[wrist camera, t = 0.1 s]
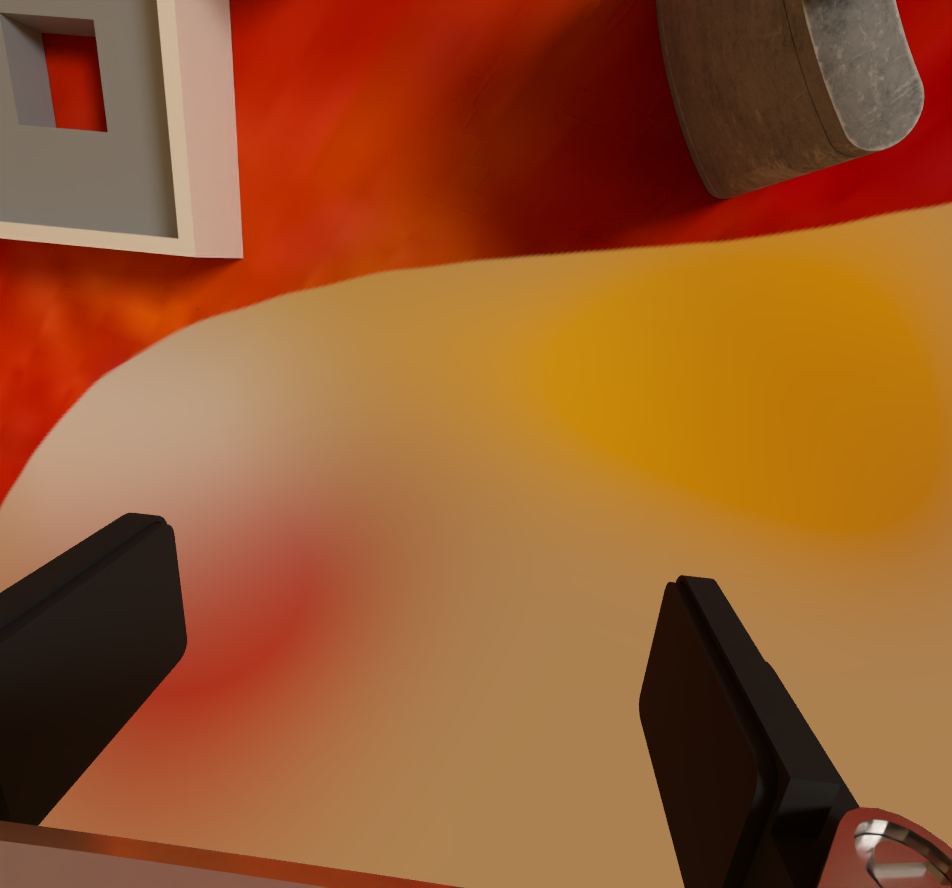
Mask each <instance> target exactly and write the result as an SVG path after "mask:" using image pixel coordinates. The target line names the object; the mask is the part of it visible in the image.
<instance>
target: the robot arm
mask: <svg viewBox="0 0 952 888" xmlns="http://www.w3.org/2000/svg"><path fill="white" fill-rule="evenodd" d="M175 545H176V544H175V536H174V531H173V529H172V527H171V526H170V525H168V524H167V523H166V521H165V519H164V518H163V517H161V516H155V515H147V514H139V513H127V514H125V515H123V516H121V517H120V518H118V519H116V520H115V521H114V522H112V523H110V524H108V525H107V526H105V527H104V528H102V529H101V530H99V531H97V532H96V533H94V534H93V535H91V536H89V537H88V538H86V539H85V540H83V541H82V542H80V543H79V544H77V545H75V546H74V547H72V548H70V549H69V550H68V551H66V552H64V553H63V554H61V555H60V556H58V557H56V558H55V559H53V560H52V561H50V562H48V563H47V564H45V565H44V566H42V567H41V568H39V569H37V570H36V571H34V572H33V573H31V574H29V575H28V576H26V577H25V578H23V579H22V580H20V581H18V582H17V583H15V584H14V585H12V586H10V587H9V588H7V589H6V590H4V591H3V592H1V593H0V888H462V887H456V886H448V885H443V884H436V883H430V882H423V881H416V880H410V879H403V878H397V877H390V876H383V875H377V874H370V873H363V872H356V871H350V870H343V869H336V868H329V867H322V866H315V865H308V864H302V863H295V862H288V861H281V860H275V859H267V858H261V857H254V856H247V855H240V854H233V853H226V852H219V851H212V850H205V849H198V848H192V847H185V846H177V845H171V844H164V843H157V842H150V841H142V840H135V839H129V838H122V837H114V836H107V835H100V834H92V833H85V832H78V831H70V830H64V829H57V828H49V827H42V826H38V825H39V824H40V823H41V822H42V820H43V819H44V818H45V817H46V816H47V815H48V813H49V812H50V811H51V810H52V809H53V808H54V806H55V805H56V804H57V803H58V802H59V801H60V799H61V798H62V797H63V796H64V795H65V794H66V792H67V791H68V790H69V789H70V788H71V787H72V786H73V784H74V783H75V782H76V781H77V780H78V778H79V777H80V776H81V775H82V774H83V773H84V772H85V770H86V769H87V768H88V767H89V766H90V764H91V763H92V762H93V761H94V760H95V759H96V758H97V756H98V755H99V754H100V753H101V752H102V751H103V749H104V748H105V747H106V746H107V745H108V744H109V742H110V741H111V740H112V739H113V738H114V737H115V735H116V734H117V733H118V732H119V731H120V730H121V728H122V727H123V726H124V725H125V724H126V723H127V721H128V720H129V719H130V718H131V717H132V716H133V714H134V713H135V712H136V711H137V710H138V709H139V707H140V706H141V705H142V704H143V703H144V702H145V701H146V699H147V698H148V697H149V696H150V695H151V694H152V692H153V691H154V690H155V689H156V688H157V687H158V685H159V684H160V683H161V682H162V681H163V679H164V678H165V677H166V676H167V675H168V674H169V673H170V671H171V670H172V669H173V668H174V667H175V666H176V664H177V663H178V662H179V661H180V660H181V658H182V656H183V654H184V652H185V649H186V645H187V635H186V626H185V618H184V610H183V601H182V593H181V585H180V577H179V570H178V560H177V552H176V546H175ZM639 713H640V719H641V723H642V727H643V731H644V735H645V739H646V742H647V746H648V750H649V754H650V758H651V761H652V765H653V769H654V773H655V777H656V780H657V784H658V788H659V791H660V796H661V799H662V803H663V807H664V811H665V814H666V818H667V822H668V826H669V830H670V834H671V837H672V841H673V845H674V849H675V852H676V856H677V860H678V864H679V867H680V871H681V875H682V879H683V883H684V887H685V888H952V848H951V847H949V846H948V845H947V844H946V843H945V842H944V841H942V840H941V839H939V838H938V837H936V836H935V835H934V834H932V833H931V832H929V831H928V830H926V829H925V828H923V827H922V826H920V825H918V824H916V823H914V822H912V821H910V820H908V819H906V818H904V817H902V816H900V815H898V814H895V813H892V812H888V811H885V810H882V809H879V808H864V807H859V805H858V804H857V802H856V800H855V799H854V797H853V796H852V794H851V792H850V791H849V789H848V788H847V786H846V784H845V783H844V781H843V780H842V778H841V776H840V775H839V773H838V772H837V770H836V768H835V767H834V765H833V764H832V762H831V760H830V759H829V757H828V756H827V754H826V752H825V751H824V749H823V748H822V746H821V744H820V743H819V741H818V740H817V738H816V736H815V735H814V733H813V732H812V730H811V728H810V727H809V725H808V724H807V722H806V720H805V719H804V717H803V715H802V714H801V712H800V711H799V709H798V708H797V706H796V704H795V703H794V701H793V699H792V698H791V696H790V695H789V693H788V691H787V690H786V688H785V687H784V685H783V684H782V682H781V680H780V679H779V677H778V675H777V674H776V672H775V671H774V669H773V668H772V667H771V666H770V664H769V663H768V662H766V661H765V660H764V659H763V657H762V656H761V654H760V652H759V651H758V649H757V647H756V646H755V644H754V642H753V641H752V639H751V638H750V636H749V634H748V633H747V631H746V629H745V628H744V626H743V625H742V623H741V621H740V620H739V618H738V616H737V615H736V613H735V612H734V610H733V609H732V607H731V605H730V603H729V602H728V600H727V599H726V597H725V595H724V594H723V592H722V591H721V589H720V587H719V586H718V584H717V582H716V581H715V580H714V579H710V578H701V577H692V576H683V575H681V576H679V577H678V579H677V581H676V583H674V582H669V583H668V584H667V585H666V588H665V591H664V596H663V600H662V604H661V608H660V613H659V617H658V621H657V626H656V630H655V634H654V638H653V643H652V647H651V651H650V655H649V659H648V664H647V668H646V672H645V676H644V681H643V685H642V689H641V693H640V699H639Z"/></svg>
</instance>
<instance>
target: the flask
mask: <svg viewBox="0 0 952 888" xmlns="http://www.w3.org/2000/svg"><path fill="white" fill-rule="evenodd" d="M655 1H656V12H657V22H658V30H659V37H660V43H661V49H662V55H663V61H664V66H665V70H666V75H667V80H668V84H669V88H670V92H671V96H672V99H673V103H674V107H675V111H676V114H677V117H678V121H679V124H680V127H681V130H682V133H683V136H684V139H685V142H686V144H687V147H688V150H689V152H690V155H691V157H692V160H693V162H694V164H695V166H696V169H697V171H698V173H699V175H700V177H701V179H702V181H703V183H704V185H705V187H706V189H707V191H708V192H709V193H710V194H711V195H712V196H714V197H715V198H719V199H728V198H731V197H735V196H738V195H741V194H744V193H747V192H751V191H754V190H757V189H760V188H763V187H766V186H770V185H773V184H776V183H779V182H782V181H785V180H789V179H792V178H795V177H798V176H801V175H805V174H808V173H811V172H814V171H817V170H820V169H824V168H827V167H830V166H833V165H836V164H839V163H843V162H846V161H849V160H852V159H855V158H859V157H862V156H865V155H868V154H871V153H874V152H878V151H881V150H884V149H887V148H890V147H891V146H893V145H895V144H897V143H898V142H900V141H901V140H902V139H904V138H905V137H906V136H907V135H908V134H909V132H910V131H911V130H912V129H913V127H914V126H915V124H916V123H917V121H918V119H919V117H920V115H921V112H922V108H923V104H924V88H923V85H922V81H921V79H920V76H919V73H918V71H917V68H916V66H915V63H914V61H913V58H912V55H911V52H910V49H909V46H908V43H907V40H906V37H905V34H904V30H903V27H902V23H901V19H900V16H899V12H898V9H897V4H896V0H655Z"/></svg>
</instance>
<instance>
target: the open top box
mask: <svg viewBox="0 0 952 888" xmlns="http://www.w3.org/2000/svg"><path fill="white" fill-rule="evenodd" d="M42 33H51V34H64V35H77V36H89V37H96V43H97V50H98V58H99V66H100V74H101V82H102V90H103V98H104V106H105V114H106V122H107V130H108V132H98V131H87V130H75V129H64V128H56V124H55V117H54V111H53V104H52V98H51V91H50V85H49V78H48V71H47V65H46V58H45V52H44V45H43V39H42ZM0 238H2V239H13V240H23V241H33V242H43V243H54V244H64V245H74V246H85V247H95V248H105V249H115V250H126V251H136V252H146V253H156V254H167V255H177V256H187V257H206V258H243V245H242V226H241V207H240V189H239V170H238V152H237V133H236V115H235V96H234V78H233V59H232V41H231V22H230V4H229V0H0Z"/></svg>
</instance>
